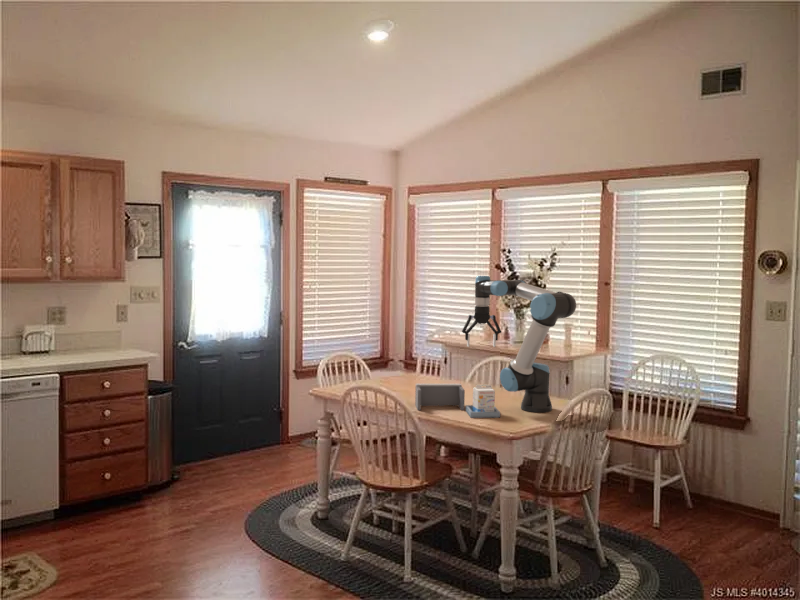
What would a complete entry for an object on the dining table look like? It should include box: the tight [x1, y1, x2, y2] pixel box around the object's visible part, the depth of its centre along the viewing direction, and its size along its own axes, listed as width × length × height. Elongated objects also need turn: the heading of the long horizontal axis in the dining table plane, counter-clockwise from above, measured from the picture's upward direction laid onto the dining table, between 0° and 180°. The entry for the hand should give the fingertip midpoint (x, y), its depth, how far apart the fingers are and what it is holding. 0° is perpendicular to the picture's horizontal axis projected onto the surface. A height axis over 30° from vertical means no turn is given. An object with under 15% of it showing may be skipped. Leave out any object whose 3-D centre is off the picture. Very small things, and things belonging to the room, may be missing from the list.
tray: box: [464, 404, 501, 419], centre depth 342 cm, size 14×15×3 cm
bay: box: [414, 383, 466, 411], centre depth 354 cm, size 23×13×11 cm, turn 94°
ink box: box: [472, 384, 496, 412], centre depth 341 cm, size 9×8×13 cm
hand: (481, 346), depth 368 cm, fingers open, 13 cm apart
